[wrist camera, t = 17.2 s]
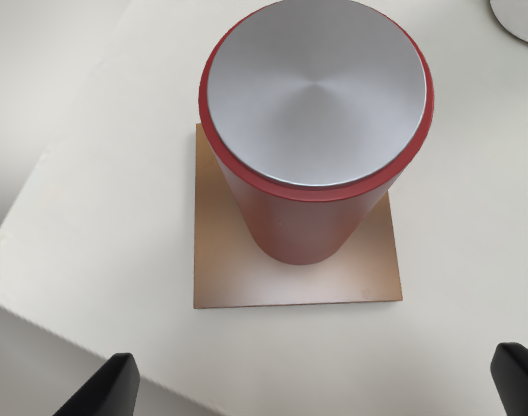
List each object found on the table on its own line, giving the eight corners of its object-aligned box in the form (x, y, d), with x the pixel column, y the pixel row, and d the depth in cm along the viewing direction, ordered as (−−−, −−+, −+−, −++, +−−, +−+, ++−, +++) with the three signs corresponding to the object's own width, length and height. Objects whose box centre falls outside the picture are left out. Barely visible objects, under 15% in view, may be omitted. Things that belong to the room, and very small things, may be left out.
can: (364, 253, 22) (475, 169, 9) (257, 275, 22) (214, 222, 9) (338, 155, 23) (398, -34, 11) (239, 175, 23) (181, 11, 11)
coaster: (399, 300, 22) (403, 300, 21) (196, 308, 22) (193, 308, 21) (374, 117, 25) (377, 111, 24) (198, 129, 25) (196, 123, 25)
